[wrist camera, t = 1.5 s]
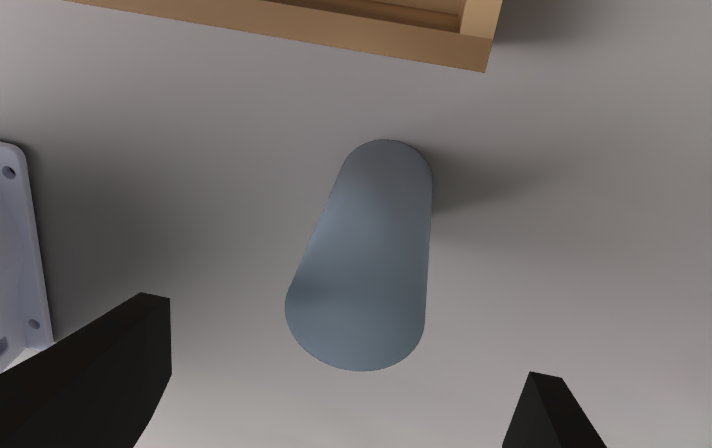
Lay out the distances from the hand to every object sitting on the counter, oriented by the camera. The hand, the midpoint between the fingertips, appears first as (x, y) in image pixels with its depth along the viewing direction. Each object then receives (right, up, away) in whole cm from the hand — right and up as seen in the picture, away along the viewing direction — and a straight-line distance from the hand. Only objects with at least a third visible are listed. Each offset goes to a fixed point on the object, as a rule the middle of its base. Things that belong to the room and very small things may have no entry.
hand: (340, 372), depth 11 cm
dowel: (+1, +4, +8) cm, 9 cm away
